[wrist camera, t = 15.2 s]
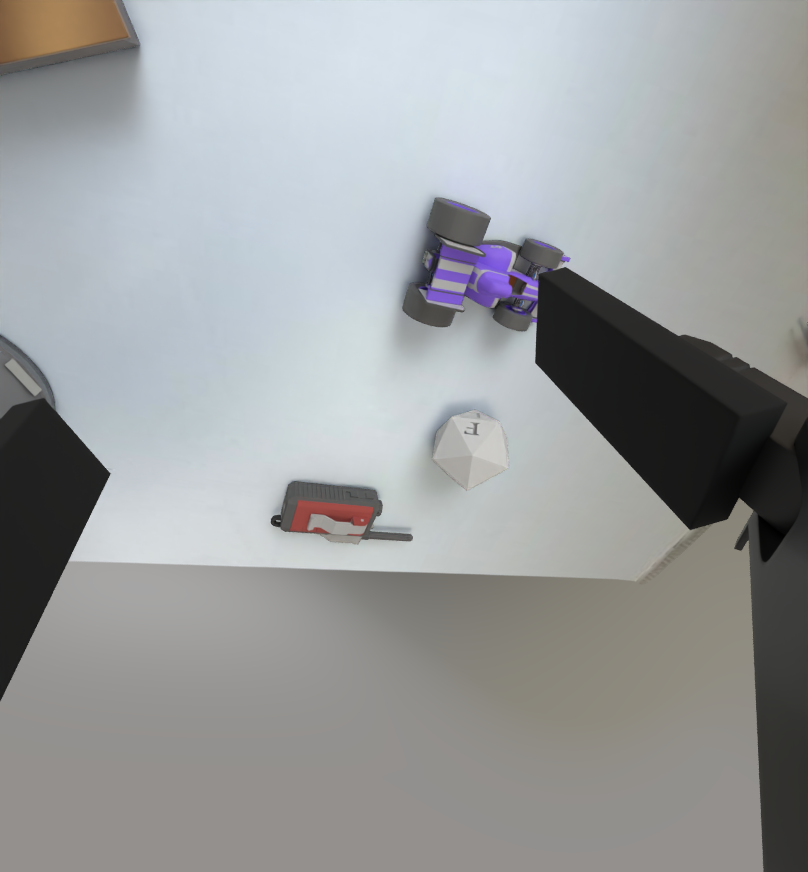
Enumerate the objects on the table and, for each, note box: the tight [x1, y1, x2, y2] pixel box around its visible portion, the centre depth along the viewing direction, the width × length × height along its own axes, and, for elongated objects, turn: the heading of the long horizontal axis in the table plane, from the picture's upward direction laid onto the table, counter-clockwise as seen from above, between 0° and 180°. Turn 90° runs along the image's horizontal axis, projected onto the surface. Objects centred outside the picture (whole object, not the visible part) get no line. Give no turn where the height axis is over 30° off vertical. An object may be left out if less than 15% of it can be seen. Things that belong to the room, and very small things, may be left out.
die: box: [432, 410, 509, 491], centre depth 49 cm, size 8×9×10 cm
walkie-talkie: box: [271, 482, 413, 544], centre depth 55 cm, size 9×4×20 cm
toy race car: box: [402, 198, 571, 331], centre depth 38 cm, size 10×15×6 cm, turn 73°
